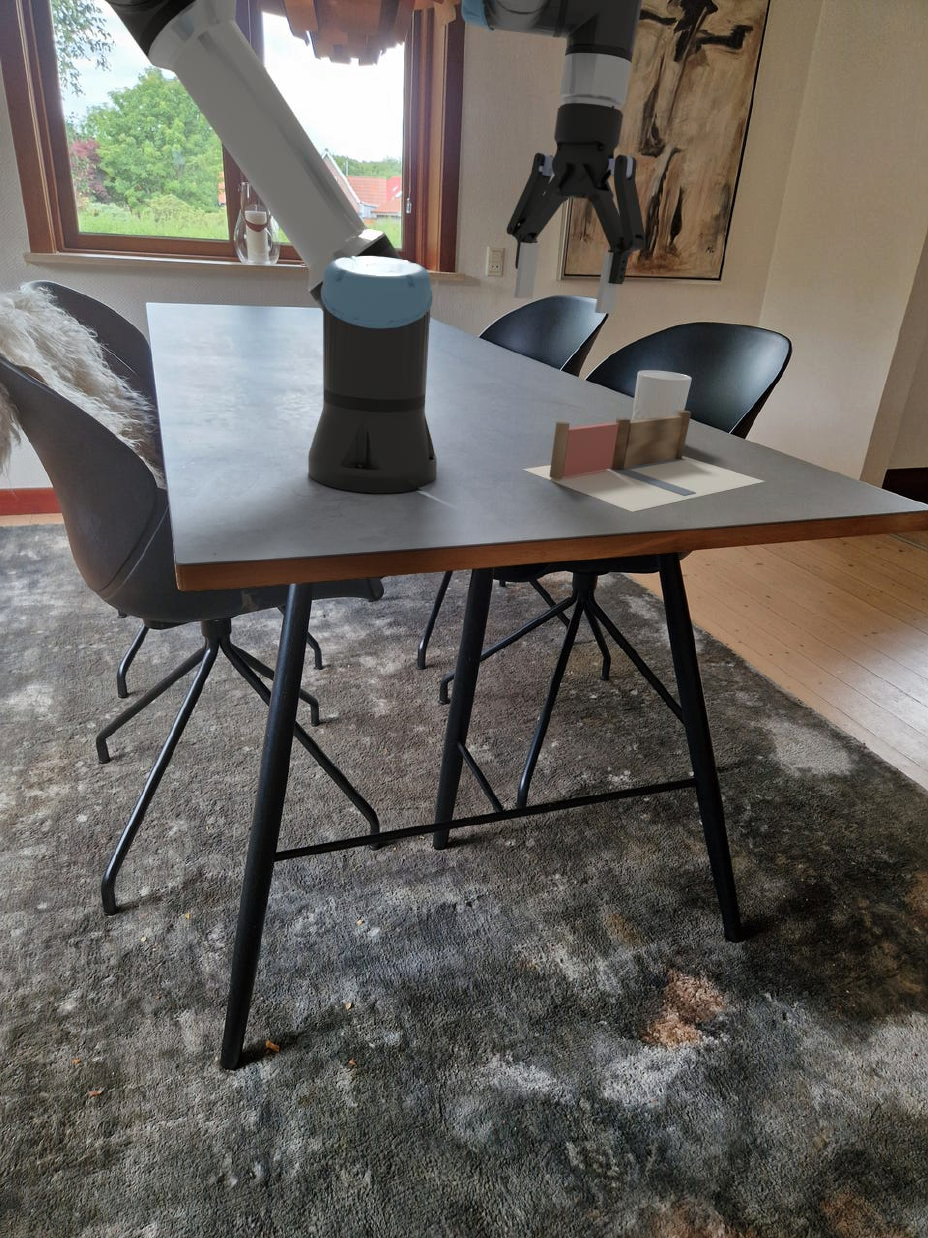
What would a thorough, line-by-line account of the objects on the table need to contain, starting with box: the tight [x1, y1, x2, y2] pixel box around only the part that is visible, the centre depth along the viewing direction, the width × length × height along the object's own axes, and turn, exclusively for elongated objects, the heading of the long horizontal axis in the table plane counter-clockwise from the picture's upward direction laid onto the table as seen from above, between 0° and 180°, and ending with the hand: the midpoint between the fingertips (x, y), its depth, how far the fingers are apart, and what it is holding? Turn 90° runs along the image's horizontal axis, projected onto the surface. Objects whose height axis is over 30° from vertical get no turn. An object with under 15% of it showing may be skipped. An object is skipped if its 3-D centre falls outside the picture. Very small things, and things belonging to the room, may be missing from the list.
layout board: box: [522, 455, 766, 513], centre depth 102 cm, size 27×18×1 cm, turn 129°
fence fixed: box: [611, 410, 692, 470], centre depth 106 cm, size 15×2×6 cm, turn 129°
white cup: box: [631, 369, 693, 421], centre depth 119 cm, size 8×8×10 cm
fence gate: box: [549, 421, 619, 479], centre depth 98 cm, size 10×2×7 cm, turn 129°
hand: (561, 305), depth 99 cm, fingers open, 13 cm apart
